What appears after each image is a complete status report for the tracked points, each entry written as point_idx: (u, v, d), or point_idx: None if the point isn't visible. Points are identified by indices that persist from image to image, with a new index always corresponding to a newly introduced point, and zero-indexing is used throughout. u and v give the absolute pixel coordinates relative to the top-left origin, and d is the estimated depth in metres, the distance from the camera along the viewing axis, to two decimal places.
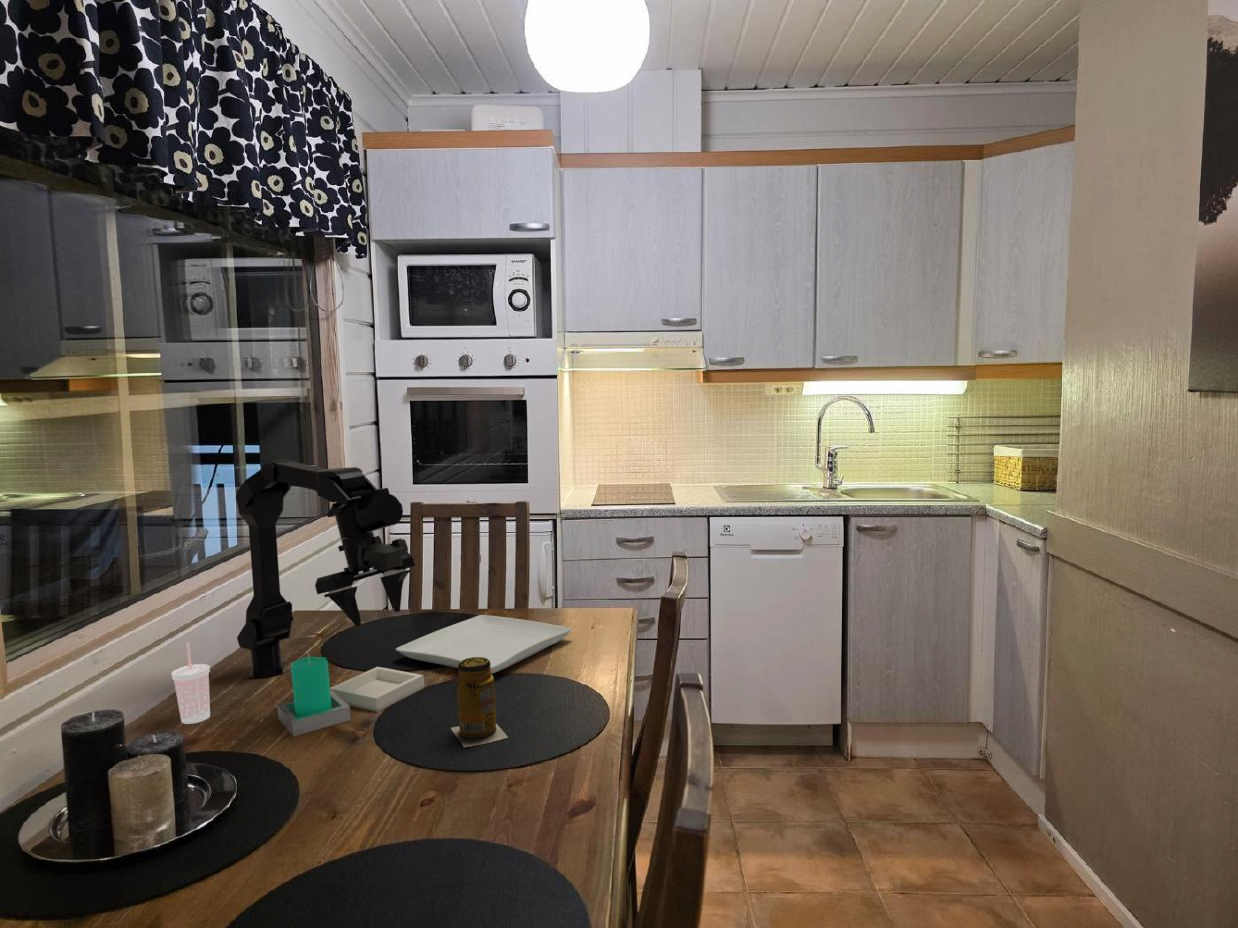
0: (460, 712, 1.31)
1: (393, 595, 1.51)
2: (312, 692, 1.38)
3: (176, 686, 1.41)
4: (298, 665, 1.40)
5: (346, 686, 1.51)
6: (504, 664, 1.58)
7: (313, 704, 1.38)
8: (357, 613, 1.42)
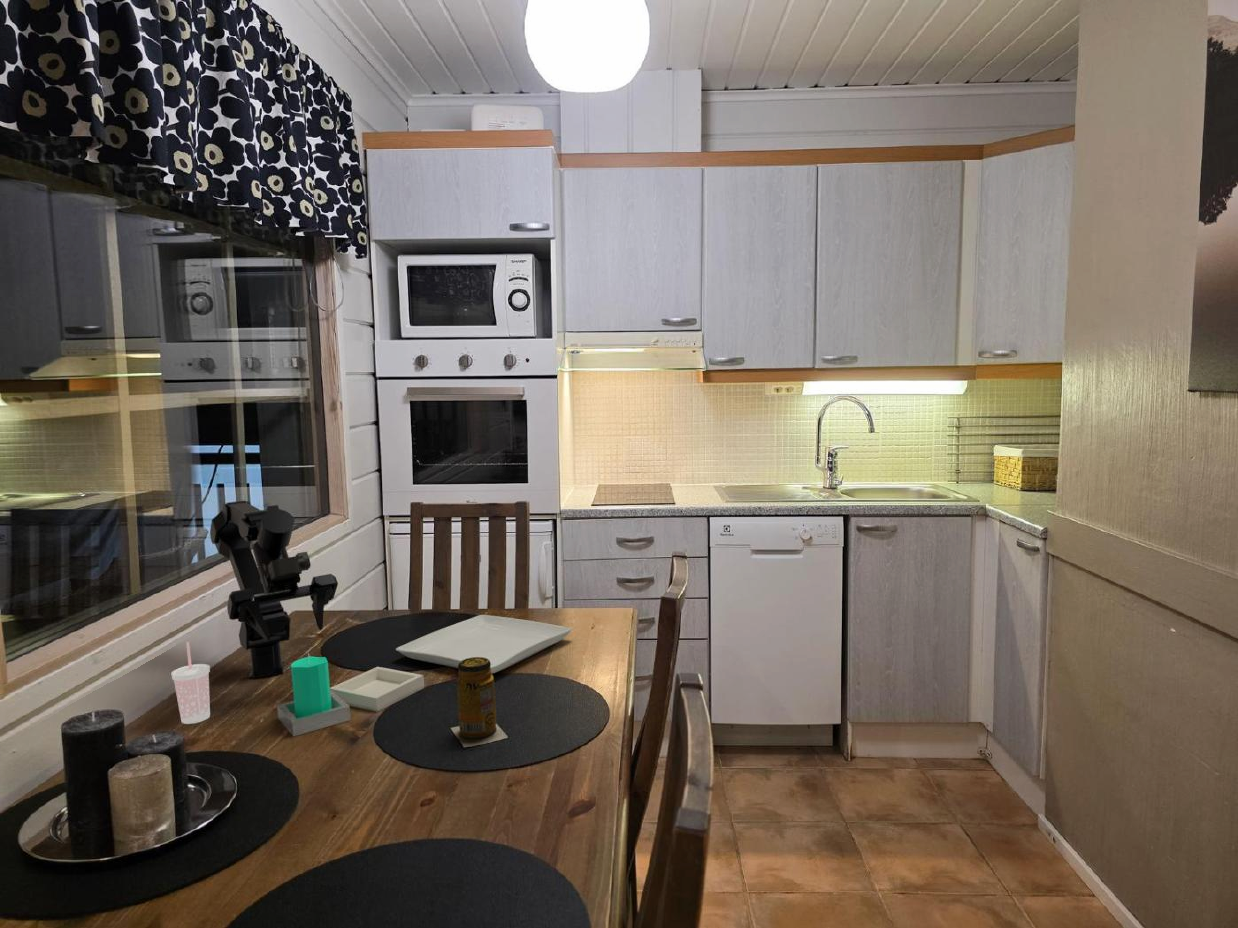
0: (460, 712, 1.31)
1: (316, 615, 1.51)
2: (312, 692, 1.38)
3: (176, 686, 1.41)
4: (298, 665, 1.40)
5: (346, 686, 1.51)
6: (504, 664, 1.58)
7: (313, 704, 1.38)
8: (264, 627, 1.44)
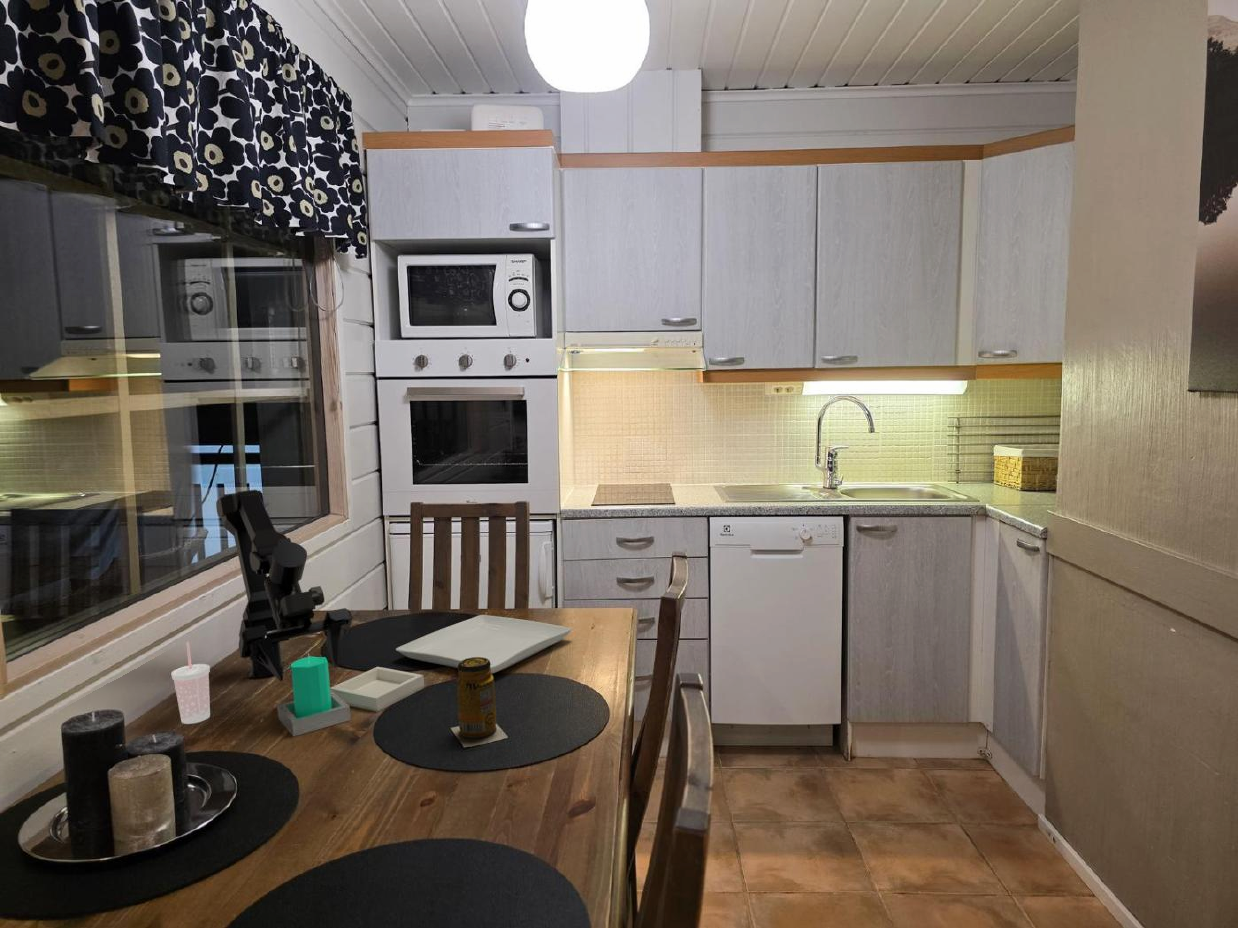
0: (460, 712, 1.31)
1: (331, 651, 1.45)
2: (312, 692, 1.38)
3: (176, 686, 1.41)
4: (298, 665, 1.40)
5: (346, 686, 1.51)
6: (504, 664, 1.58)
7: (313, 704, 1.38)
8: (277, 666, 1.38)
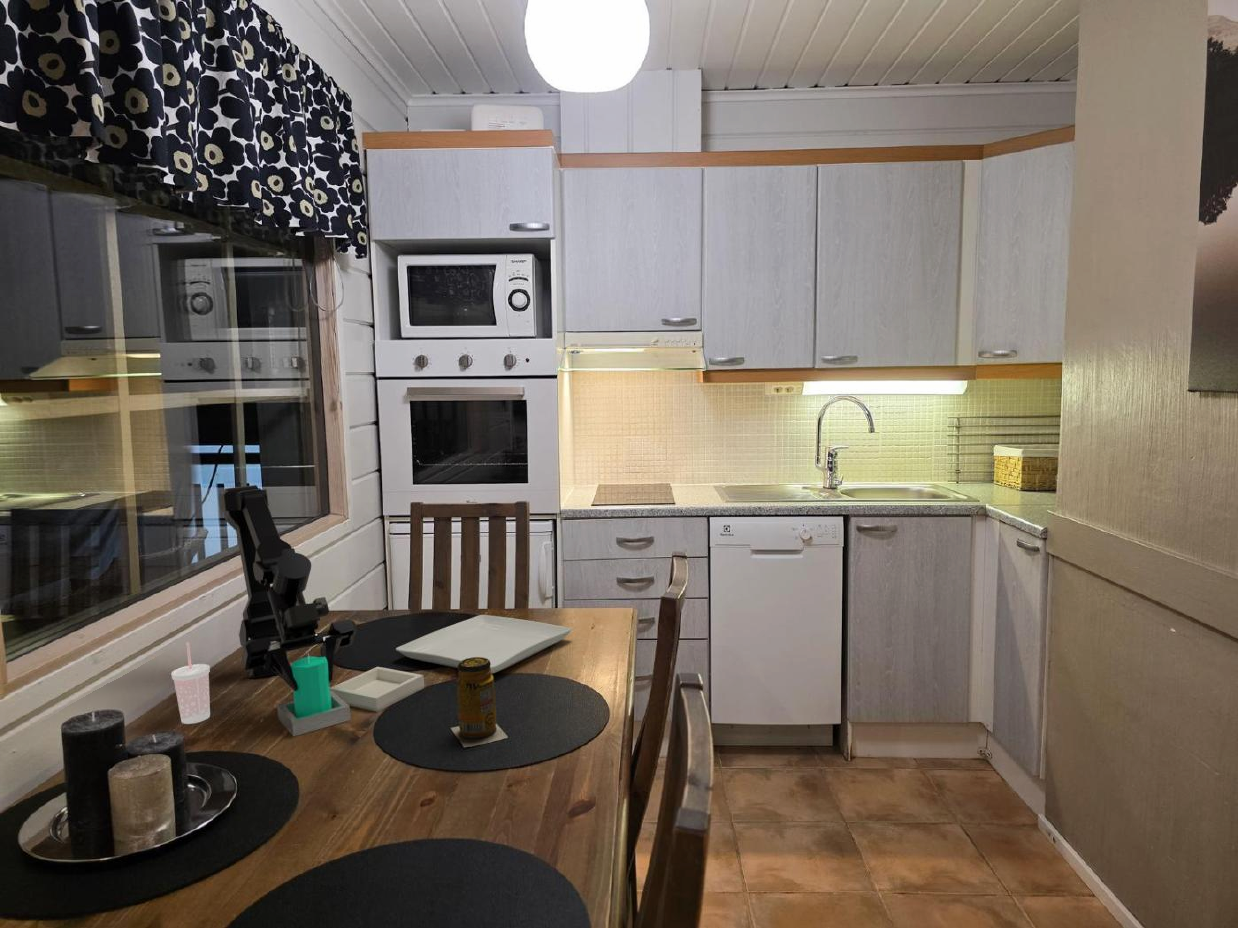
0: (460, 712, 1.31)
1: None
2: (312, 692, 1.38)
3: (176, 686, 1.41)
4: (298, 665, 1.40)
5: (346, 686, 1.51)
6: (504, 664, 1.58)
7: (313, 703, 1.38)
8: (291, 676, 1.38)
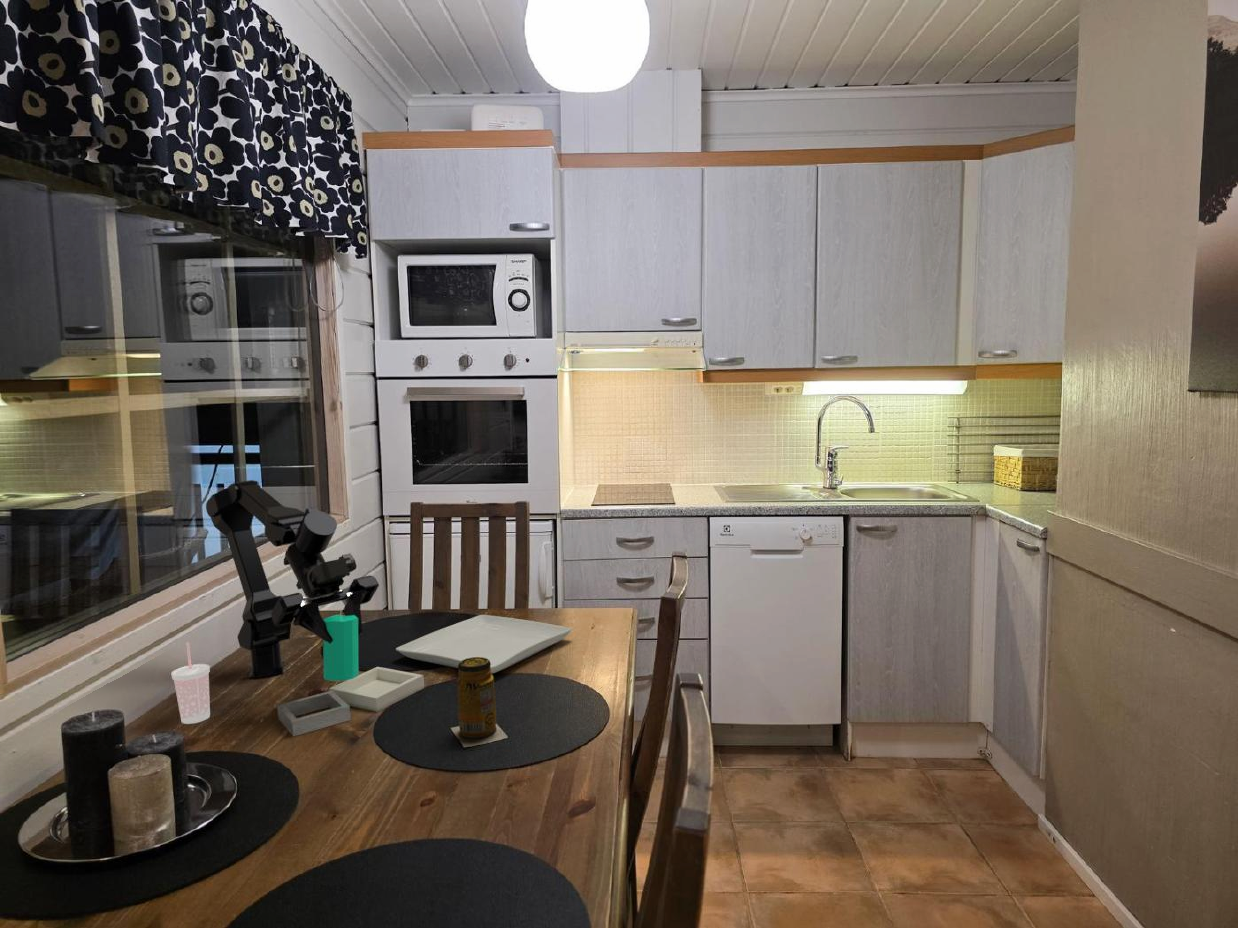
0: (460, 712, 1.31)
1: None
2: (345, 646, 1.42)
3: (176, 686, 1.41)
4: (330, 621, 1.43)
5: (346, 686, 1.51)
6: (504, 664, 1.58)
7: (345, 658, 1.42)
8: (326, 629, 1.41)
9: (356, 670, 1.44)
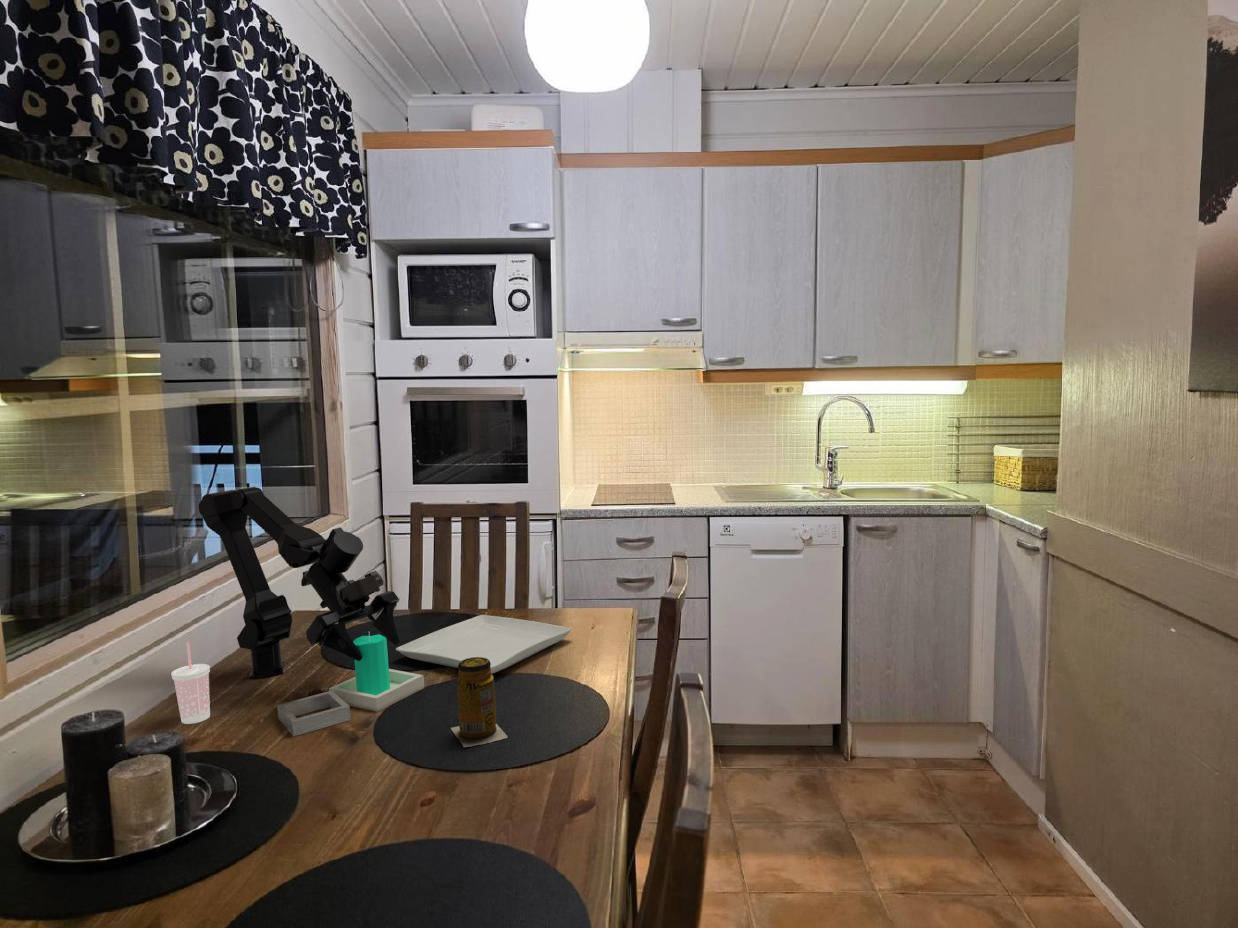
0: (460, 712, 1.31)
1: (388, 631, 1.55)
2: (379, 666, 1.48)
3: (176, 686, 1.41)
4: (359, 643, 1.48)
5: (346, 686, 1.51)
6: (504, 664, 1.58)
7: (380, 677, 1.48)
8: (354, 647, 1.46)
9: (389, 686, 1.51)
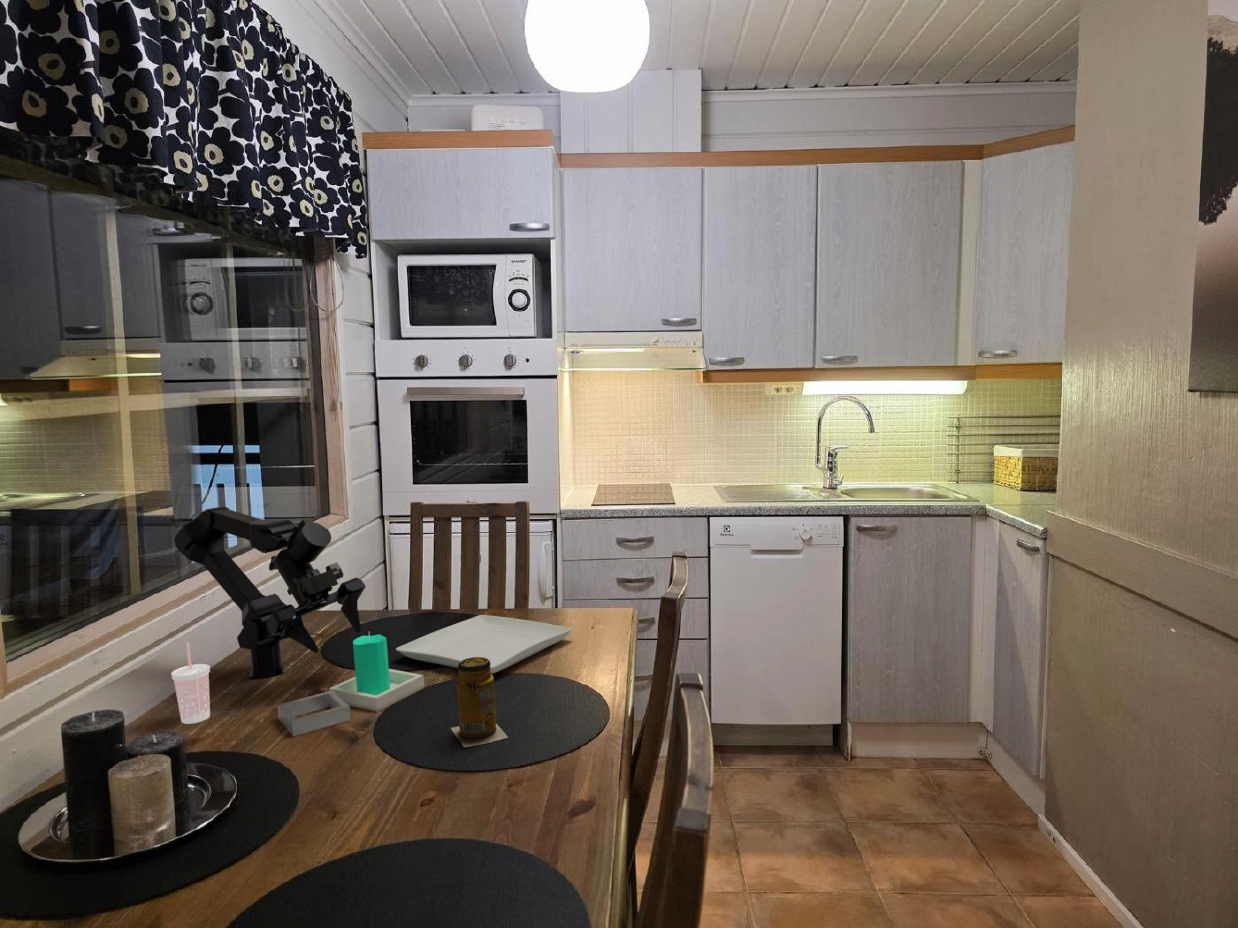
0: (460, 712, 1.31)
1: (352, 619, 1.58)
2: (379, 666, 1.48)
3: (176, 686, 1.41)
4: (359, 643, 1.48)
5: (346, 686, 1.51)
6: (504, 664, 1.58)
7: (380, 677, 1.48)
8: (311, 640, 1.51)
9: (389, 686, 1.51)
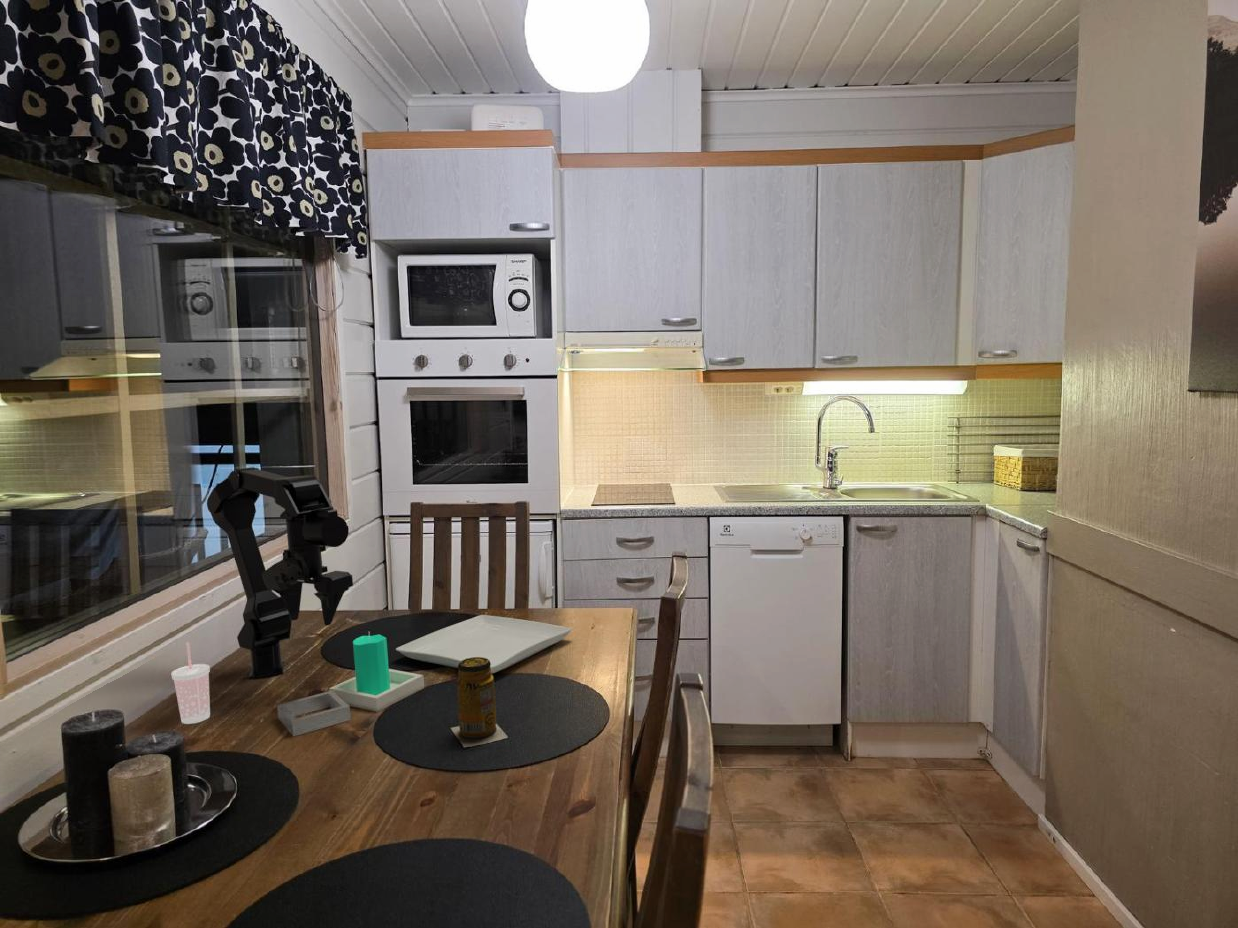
0: (460, 712, 1.31)
1: None
2: (379, 666, 1.48)
3: (176, 686, 1.41)
4: (359, 643, 1.48)
5: (346, 686, 1.51)
6: (504, 664, 1.58)
7: (380, 677, 1.48)
8: (288, 609, 1.56)
9: (389, 686, 1.51)
